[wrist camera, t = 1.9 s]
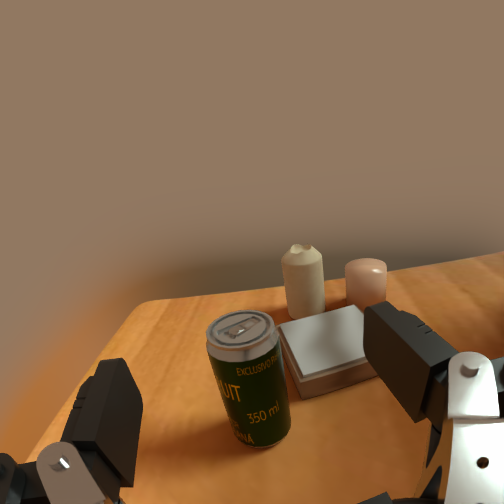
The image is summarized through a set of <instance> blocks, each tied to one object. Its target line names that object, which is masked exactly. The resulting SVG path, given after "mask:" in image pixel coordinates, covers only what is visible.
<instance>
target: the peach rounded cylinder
mask: <svg viewBox="0 0 504 504" xmlns="http://www.w3.org/2000/svg"><path fill="white" fill-rule="evenodd" d="M386 269H387V266H386V264H385V263H384V262H383V261H381V260H378V259H371V258H363V259H357V260H353V261H351V262H349V263H348V264H346V266H345V278H346V305H347V306H350V305H356V306H357V307H358V308H359V309H360V310H361V311H362V312H363V313H364V310H365V308H366V307H367V306H371V305H374V304H377V303H381V302H384V301H386V276H387V270H386Z"/></svg>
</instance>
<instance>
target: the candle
mask: <svg viewBox="0 0 504 504" xmlns="http://www.w3.org/2000/svg"><path fill="white" fill-rule="evenodd" d="M281 261H282V269H283V276H284V283H285V291H286V299H287V307H288V313H289V316H290V317H291V318H293V319H295V320H298V319H302V318H306V317H310V316H314V315H318V314H321V313H325V292H324V278H323V266H322V255H321V254H320V253H319V252H318V251H317V250H315V249H314V248H313V247H312V246H311V245H310V244H308V245H306V246H301V245H298V244H297V245H296V244H295V245H293V246H292V247H291V248H290V250H289V251H288V252H287V253H286V254H285V255H284V256H283V257H282V260H281Z"/></svg>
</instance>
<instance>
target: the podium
mask: <svg viewBox="0 0 504 504" xmlns="http://www.w3.org/2000/svg"><path fill="white" fill-rule="evenodd" d="M363 324H364V313H363V312H362V311H361V310H360V309H359V308H358V307H357V306H356V305H350V306H347V307H343V308H340V309H336V310H333V311H329V312H325V313H321V314H318V315H314V316H310V317H306V318H302V319H298V320H294V321H290V322H286V323H282V324H280V325H276V326H275V327H276V329H277V331H278V333H279V338H280V345H281V352H282V354H283V356H284V359H285V361H286V364H287V366H288V368H289V371H290V373H291V375H292V378H293V380H294V383H295V385H296V387H297V390H298V392H299V394H300V397H301V399H302V400H305V399H308V398H312V397H315V396H318V395H322V394H325V393H328V392H331V391H335V390H338V389H341V388H344V387H347V386H350V385H353V384H356V383H358V382H361V381H364V380H367V379H370V378H372V377H375V376H378V374H377V373H376V371H375V370H374V369H373V367H372V366H371V365H370V363H369V362H368V361H367V359H366V357H365V354H364V350H363Z"/></svg>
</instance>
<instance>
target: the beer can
mask: <svg viewBox="0 0 504 504" xmlns="http://www.w3.org/2000/svg"><path fill="white" fill-rule="evenodd" d="M206 337H207V342H206V347H207V352H208V356H209V359H210V362H211V365H212V369H213V372H214V375H215V378H216V381H217V384H218V387H219V390H220V394H221V397H222V400H223V403H224V406H225V409H226V411H227V414H228V417H229V420H230V423H231V426H232V429H233V432H234V434H235V436H236V437H237V438H238V440H239V441H241V442H242V443H244V444H246V445H247V446H249V447H253V448H268V447H272V446H274V445H276V444H278V443H280V442H281V441H282V440H283V439H284V438H285V437H286V435H287V433H288V431H289V429H290V427H291V417H290V409H289V402H288V395H287V387H286V380H285V373H284V366H283V359H282V352H281V345H280V338H279V333H278V331H277V329H276V327H275V326H274V321H273V319H272V317H271V316H269V315H268V314H266V313H264V312H261V311H256V310H240V311H235V312H231V313H228V314H226V315H223V316H221V317H219V318H218V319H216V320H214V321H213V322H212V323H211V324H210V325H209V326H208V329H207V331H206Z"/></svg>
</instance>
